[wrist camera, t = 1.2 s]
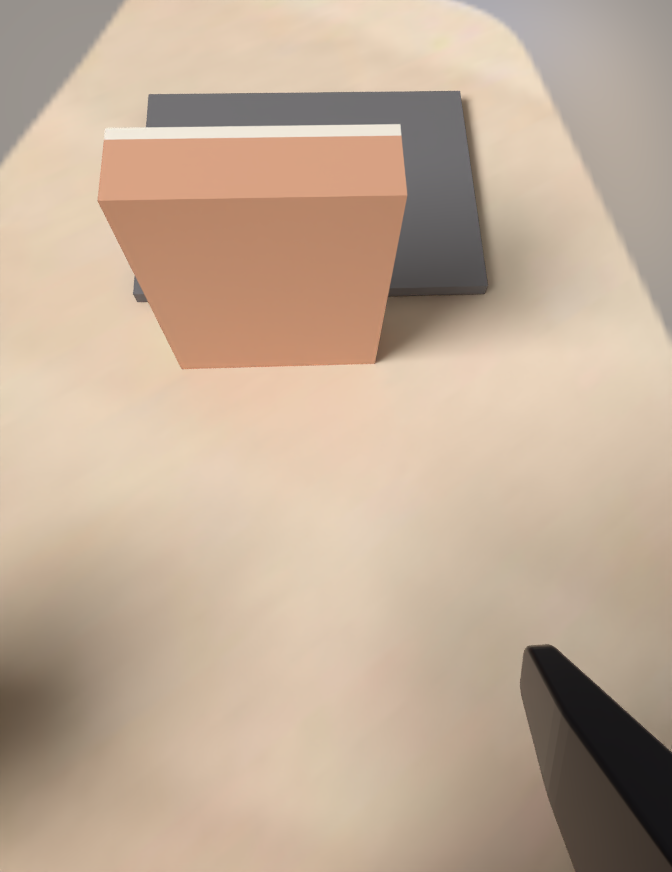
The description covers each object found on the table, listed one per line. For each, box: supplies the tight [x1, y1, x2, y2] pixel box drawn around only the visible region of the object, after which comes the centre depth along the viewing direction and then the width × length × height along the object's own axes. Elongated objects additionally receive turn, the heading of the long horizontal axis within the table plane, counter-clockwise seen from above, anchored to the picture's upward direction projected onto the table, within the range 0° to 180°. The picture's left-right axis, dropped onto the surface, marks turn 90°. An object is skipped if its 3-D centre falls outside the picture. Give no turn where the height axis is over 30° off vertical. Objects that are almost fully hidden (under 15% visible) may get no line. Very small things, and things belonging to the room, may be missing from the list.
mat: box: [133, 91, 488, 302], centre depth 28 cm, size 11×15×1 cm
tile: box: [98, 124, 407, 369], centre depth 21 cm, size 2×8×10 cm, turn 92°
